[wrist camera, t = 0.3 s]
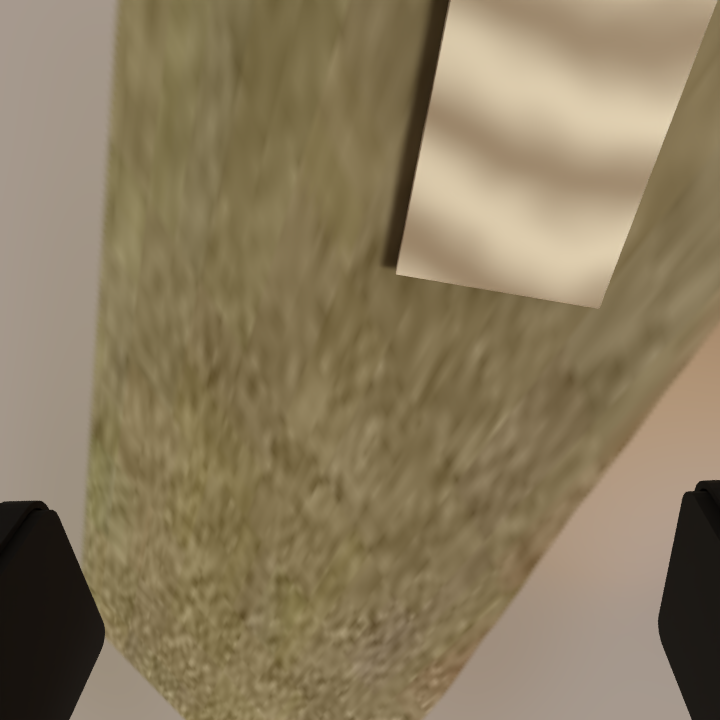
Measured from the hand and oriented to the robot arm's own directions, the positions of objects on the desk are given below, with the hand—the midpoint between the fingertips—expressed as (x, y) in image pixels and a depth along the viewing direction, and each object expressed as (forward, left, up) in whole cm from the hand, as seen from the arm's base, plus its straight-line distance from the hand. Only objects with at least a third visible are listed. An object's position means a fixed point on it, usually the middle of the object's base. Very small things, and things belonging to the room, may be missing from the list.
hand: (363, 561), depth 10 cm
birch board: (-1, +7, -29) cm, 30 cm away
